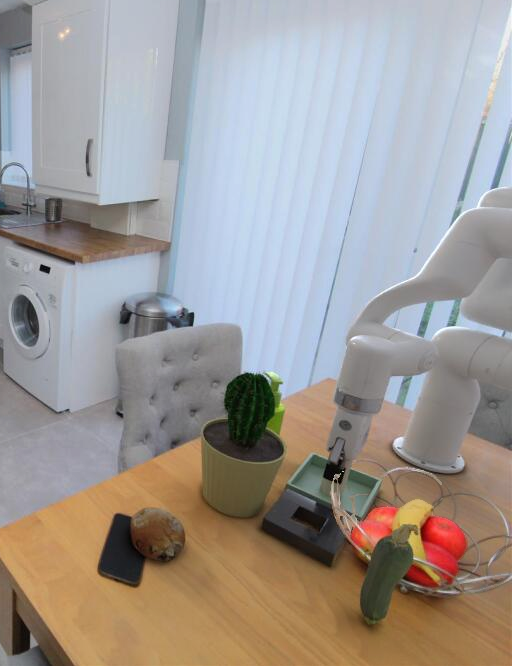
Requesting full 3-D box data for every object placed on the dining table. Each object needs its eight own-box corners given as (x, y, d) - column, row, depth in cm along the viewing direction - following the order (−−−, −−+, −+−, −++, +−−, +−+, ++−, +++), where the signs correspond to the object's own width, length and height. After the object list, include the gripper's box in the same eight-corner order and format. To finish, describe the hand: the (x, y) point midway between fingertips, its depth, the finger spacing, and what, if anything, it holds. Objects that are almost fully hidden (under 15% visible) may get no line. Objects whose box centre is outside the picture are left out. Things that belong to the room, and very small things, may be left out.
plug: (323, 482, 103) (333, 445, 100) (345, 491, 101) (356, 454, 97) (317, 491, 101) (327, 453, 97) (339, 500, 98) (350, 462, 95)
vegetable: (346, 606, 77) (379, 509, 70) (371, 603, 78) (407, 506, 70) (368, 632, 73) (405, 532, 66) (395, 629, 74) (435, 529, 66)
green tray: (308, 462, 110) (311, 451, 109) (378, 491, 101) (382, 479, 100) (283, 494, 101) (286, 483, 100) (357, 529, 92) (361, 517, 91)
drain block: (284, 499, 100) (287, 488, 98) (351, 531, 91) (355, 519, 90) (260, 529, 92) (263, 517, 91) (331, 567, 84) (334, 554, 83)
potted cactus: (277, 489, 102) (306, 363, 91) (267, 537, 91) (299, 399, 79) (201, 464, 111) (220, 346, 99) (183, 505, 99) (202, 377, 88)
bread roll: (181, 549, 93) (185, 507, 93) (185, 571, 83) (189, 524, 84) (129, 537, 96) (133, 497, 96) (126, 557, 86) (131, 512, 87)
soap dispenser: (266, 442, 117) (282, 370, 110) (279, 460, 111) (296, 385, 104) (241, 442, 118) (255, 369, 111) (252, 459, 112) (267, 384, 104)
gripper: (369, 423, 85) (344, 505, 91) (392, 390, 95) (368, 466, 102) (320, 407, 90) (300, 485, 97) (347, 377, 100) (328, 450, 107)
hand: (335, 474), depth 99 cm, fingers closed on plug, 3 cm apart
